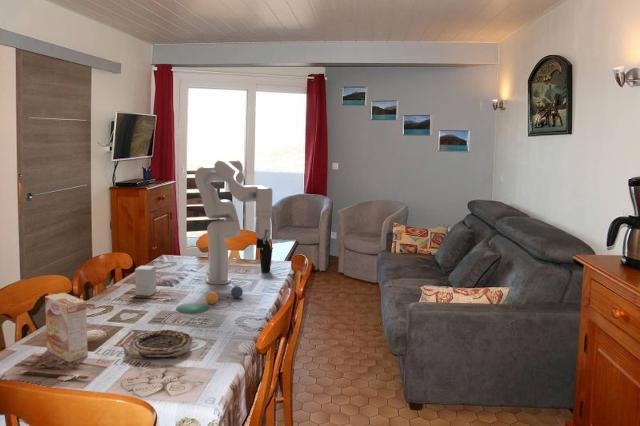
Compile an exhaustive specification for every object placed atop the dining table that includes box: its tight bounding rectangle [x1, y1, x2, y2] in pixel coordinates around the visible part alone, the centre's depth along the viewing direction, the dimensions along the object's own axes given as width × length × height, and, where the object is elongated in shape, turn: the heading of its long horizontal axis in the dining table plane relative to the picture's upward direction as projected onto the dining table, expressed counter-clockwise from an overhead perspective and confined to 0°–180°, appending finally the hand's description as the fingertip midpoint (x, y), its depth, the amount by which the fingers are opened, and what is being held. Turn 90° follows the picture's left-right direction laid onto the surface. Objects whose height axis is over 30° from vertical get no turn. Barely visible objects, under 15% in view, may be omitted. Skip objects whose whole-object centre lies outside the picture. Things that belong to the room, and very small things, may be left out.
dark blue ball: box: [230, 285, 244, 299], centre depth 256 cm, size 6×6×6 cm
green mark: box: [176, 302, 210, 315], centre depth 240 cm, size 14×14×1 cm
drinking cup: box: [258, 245, 274, 274], centre depth 305 cm, size 8×8×20 cm
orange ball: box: [205, 291, 219, 305], centre depth 246 cm, size 6×6×6 cm
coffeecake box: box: [44, 292, 89, 363], centre depth 187 cm, size 15×7×20 cm, turn 52°
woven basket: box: [123, 329, 193, 365], centre depth 193 cm, size 28×27×5 cm
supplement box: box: [134, 265, 157, 296], centre depth 258 cm, size 7×7×13 cm
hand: (263, 250), depth 256 cm, fingers open, 9 cm apart
